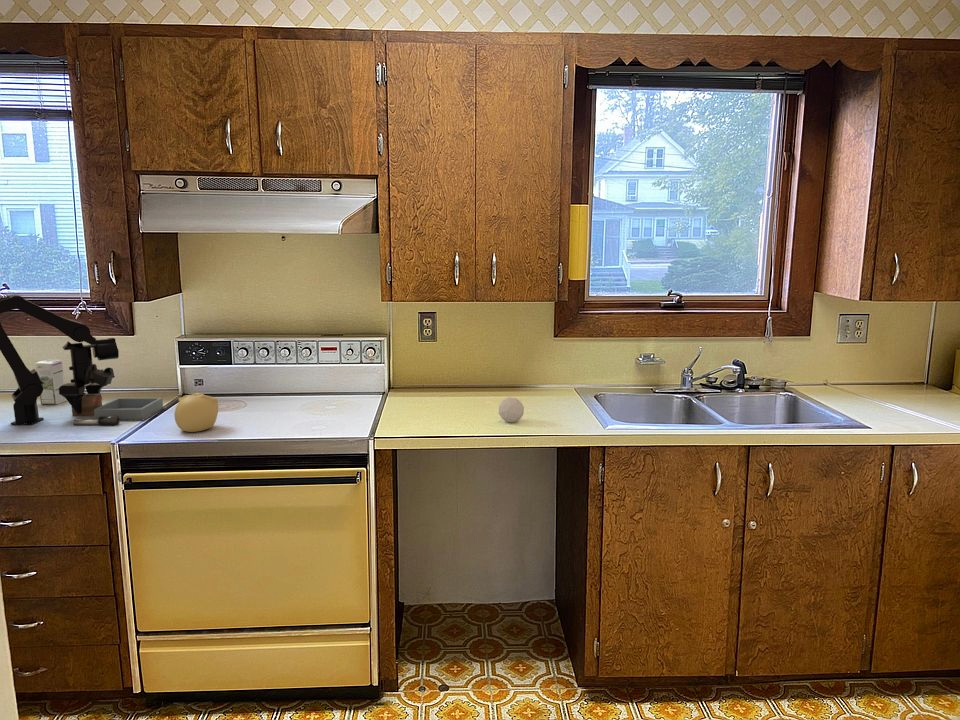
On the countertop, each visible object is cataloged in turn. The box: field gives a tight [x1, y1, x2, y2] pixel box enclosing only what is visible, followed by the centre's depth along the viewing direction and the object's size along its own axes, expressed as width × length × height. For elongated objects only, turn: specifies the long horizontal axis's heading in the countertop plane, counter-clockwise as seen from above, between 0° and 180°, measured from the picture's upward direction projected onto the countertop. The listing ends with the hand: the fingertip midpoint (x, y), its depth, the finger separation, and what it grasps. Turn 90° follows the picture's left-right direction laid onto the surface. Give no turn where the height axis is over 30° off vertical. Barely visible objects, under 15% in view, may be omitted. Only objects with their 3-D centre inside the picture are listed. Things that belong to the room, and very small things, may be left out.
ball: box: [498, 396, 525, 424], centre depth 214 cm, size 8×8×8 cm
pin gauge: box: [72, 416, 120, 426], centre depth 212 cm, size 13×3×3 cm, turn 90°
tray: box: [94, 397, 164, 421], centre depth 223 cm, size 15×15×4 cm
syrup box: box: [35, 359, 68, 405], centre depth 237 cm, size 6×6×14 cm
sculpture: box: [174, 392, 219, 433], centre depth 206 cm, size 12×12×11 cm
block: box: [70, 393, 103, 417], centre depth 224 cm, size 5×7×6 cm
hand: (87, 410), depth 224 cm, fingers open, 9 cm apart
